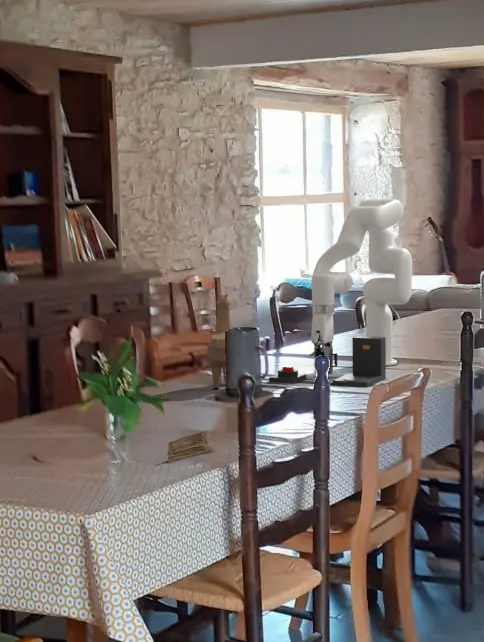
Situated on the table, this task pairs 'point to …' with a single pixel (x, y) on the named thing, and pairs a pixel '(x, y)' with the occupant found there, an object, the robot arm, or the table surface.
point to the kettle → (329, 353)
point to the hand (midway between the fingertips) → (323, 361)
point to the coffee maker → (366, 362)
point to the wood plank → (188, 446)
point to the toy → (219, 340)
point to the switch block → (287, 377)
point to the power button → (287, 368)
